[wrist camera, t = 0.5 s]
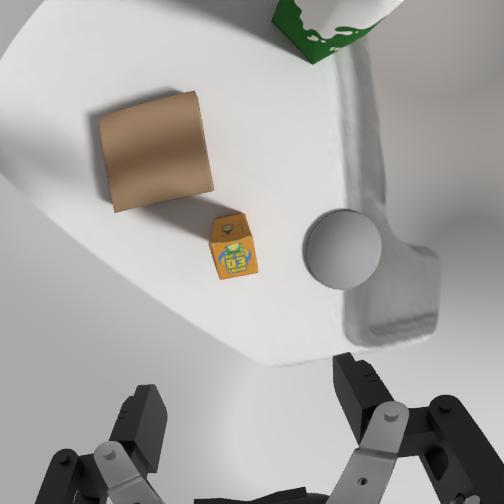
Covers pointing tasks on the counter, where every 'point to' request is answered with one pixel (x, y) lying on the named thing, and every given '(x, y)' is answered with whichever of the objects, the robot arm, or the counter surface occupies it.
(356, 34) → the milk carton
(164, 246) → the counter surface
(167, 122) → the walnut plinth
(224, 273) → the supplement box
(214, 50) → the counter surface
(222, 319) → the counter surface
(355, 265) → the grey coaster
